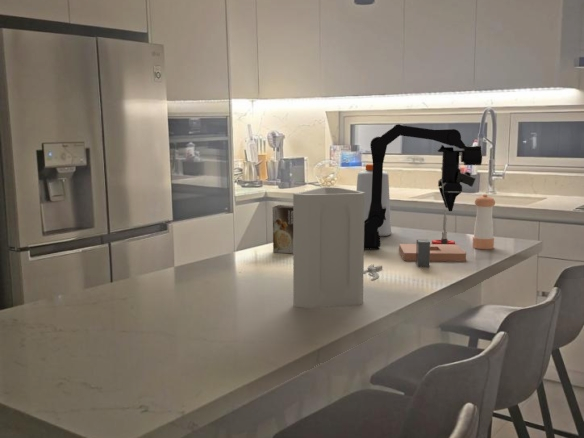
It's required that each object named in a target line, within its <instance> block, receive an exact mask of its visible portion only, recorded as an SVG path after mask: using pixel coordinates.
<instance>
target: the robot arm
mask: <svg viewBox="0 0 584 438" xmlns="http://www.w3.org/2000/svg"><path fill="white" fill-rule="evenodd" d="M400 136H402V137H409V138H416V139H422V140H423V139H424V140H431V141H435V142H438V143H442V144H441V145H440V146H439V148H437V149H436V151H437V153H442V160H441V162H442V163H441V168H440V169H441V178H440V179H439V180H438V182H437V183H438V184H437V187H438V190H439V192H440V195H441V199H442V202H443V204H444V206H445V208H446V209H447V210H448V212H452V211H453V210H454V209H453V208H454V205H455V202H456V198H457V197H458V196H459V195H461V193H462V192H463V185H462V184H461V183H463V184H465V185H466V186H469V187H473V186H474V184H475V181H476V178H475V177H474V176H472V175H471V173H470V172H469V171H465V172H464V173H463V172H461V168H460V163H463V165H464V166H482V162H483V154H482V146H481V145H474V146H473V145H466V143H464V142H463V140H462V135H461V133H460V131H459V130H458V129H455V128H439V129H431V128H425V127H416V126H410V125H408V126H407V125H403V124H399V123H398V124H395V125H394V126H393V127H392V128H390V129H389V130H388V131H386V132H385V133H383V134H382V135H381V136H375V137H373V138H372V139H371V140H370V152H371V161H372V164H373V171H372V196H371V204H370V208H369V213H368V218H367V219H366V220H365V221H364V250H380V247H381V236H380V234H379V231H378V228H379V227H381V226H382V225H383V223H384V220H386V218H385V212H386V206H384V207H382V203H381V199H382V175H383V171H384V160H385V156H386V152H387V149H388V145H390V144H392V142H393V141H395V140H396V139H398V138H399V137H400ZM443 144H444V145H448V146H449V147H448V146H446V147H445V146H444V145H443ZM450 146H451V147H450ZM454 147H455V148H456V149H454ZM459 149H460V150H459Z"/></svg>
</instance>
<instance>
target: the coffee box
mask: <svg viewBox="0 0 584 438" xmlns="http://www.w3.org/2000/svg"><path fill="white" fill-rule="evenodd" d="M272 246H273V247H272V252H273V253H278V254H279V253H281V254H293V205H290V204H289V205H286V204H277V205H275V206H273V207H272Z"/></svg>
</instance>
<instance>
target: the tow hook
mask: <svg viewBox="0 0 584 438" xmlns="http://www.w3.org/2000/svg"><path fill="white" fill-rule="evenodd" d="M443 213H444V214H443V217H442V218H443V221H442V222H443V223H442V233H441V238H440V239H432V240H431V244H456V241H454V240H452V239H451V240H450V239H448V238H447V237H448V231H447V223H448V222H447V220H448V216H447V210H443Z"/></svg>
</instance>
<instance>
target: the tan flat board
mask: <svg viewBox="0 0 584 438" xmlns="http://www.w3.org/2000/svg"><path fill="white" fill-rule="evenodd" d="M398 252H399V254H400V256H401V257H402V259H403V261H413V262H414V261H415V262H416V243H399V245H398ZM430 261H431V262H437V261H438V262H466V261H467V253H466V251H464V249H462V247H460V246H459V245H458V244H456V243H455V244H434V243H430V260H429V262H430Z"/></svg>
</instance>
